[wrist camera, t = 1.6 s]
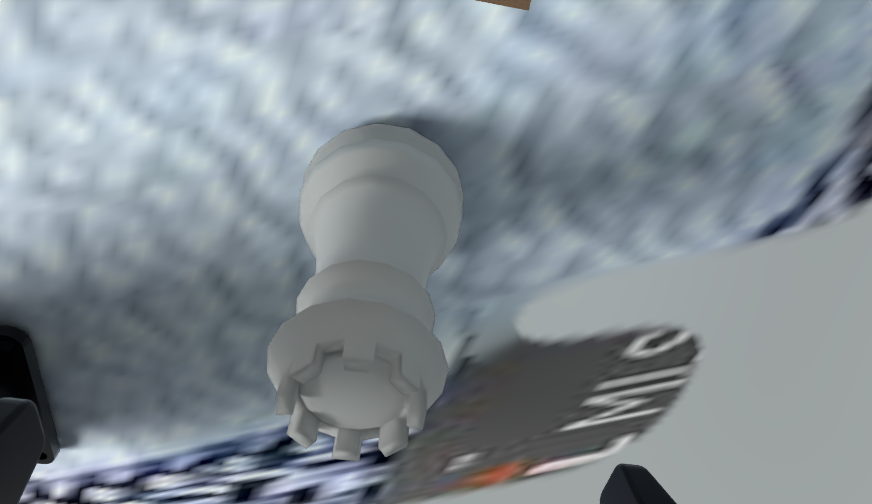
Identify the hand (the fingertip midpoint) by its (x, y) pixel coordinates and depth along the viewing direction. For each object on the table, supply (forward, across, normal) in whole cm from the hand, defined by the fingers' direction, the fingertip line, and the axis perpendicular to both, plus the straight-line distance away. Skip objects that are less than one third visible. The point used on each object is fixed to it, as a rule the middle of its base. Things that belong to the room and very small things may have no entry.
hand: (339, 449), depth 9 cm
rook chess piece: (+9, 0, 0) cm, 9 cm away
